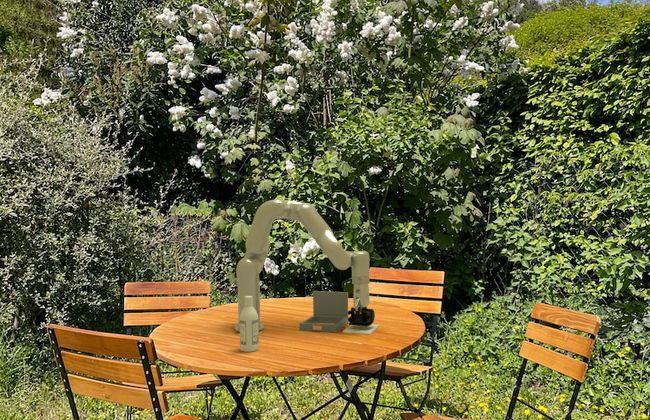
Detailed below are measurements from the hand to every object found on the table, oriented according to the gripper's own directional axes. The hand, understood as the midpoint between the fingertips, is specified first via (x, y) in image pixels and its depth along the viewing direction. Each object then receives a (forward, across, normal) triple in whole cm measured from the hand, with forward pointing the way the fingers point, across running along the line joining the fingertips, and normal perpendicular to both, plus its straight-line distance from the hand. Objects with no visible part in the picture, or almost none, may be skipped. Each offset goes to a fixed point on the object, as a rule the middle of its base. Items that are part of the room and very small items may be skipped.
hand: (361, 320), depth 234 cm
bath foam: (+4, -43, +32) cm, 54 cm away
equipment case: (+4, 0, +17) cm, 17 cm away
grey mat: (+4, 0, 0) cm, 4 cm away
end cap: (+2, 0, 0) cm, 2 cm away
